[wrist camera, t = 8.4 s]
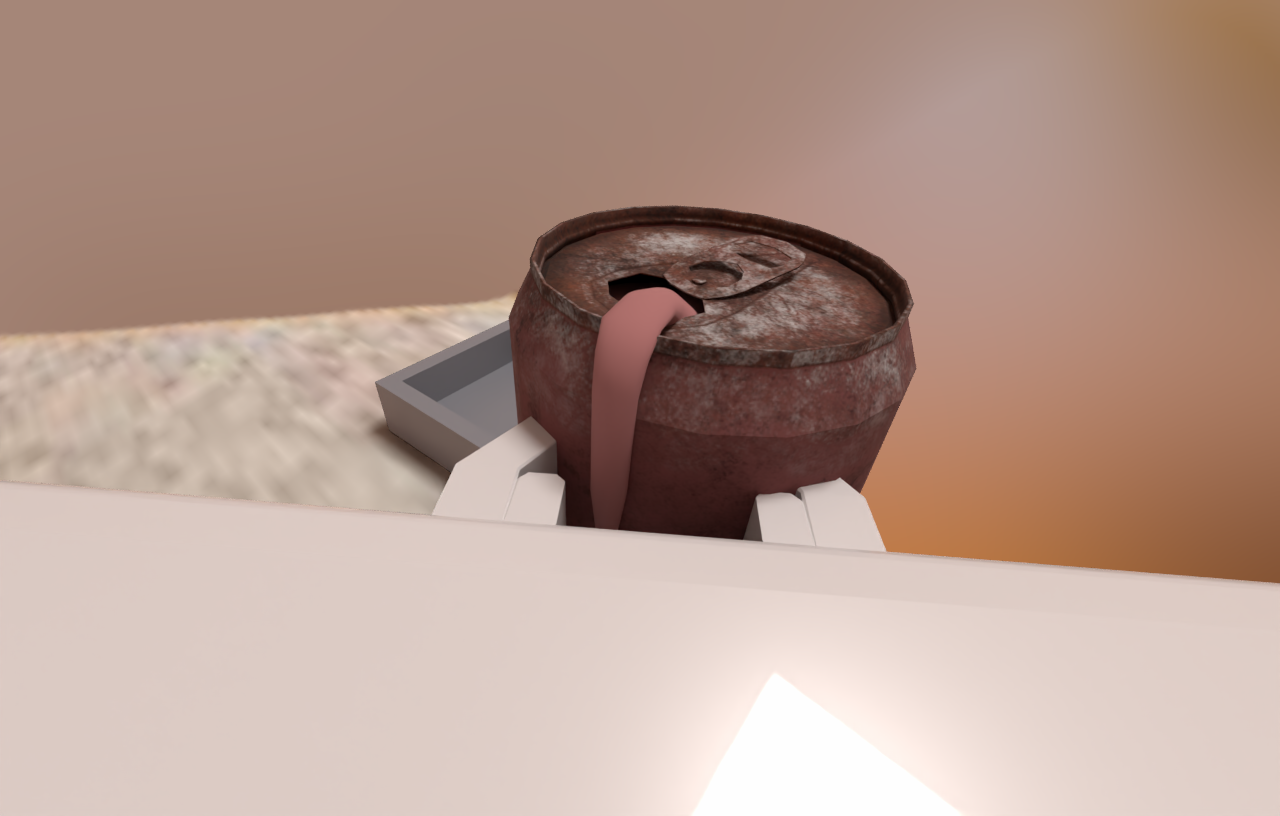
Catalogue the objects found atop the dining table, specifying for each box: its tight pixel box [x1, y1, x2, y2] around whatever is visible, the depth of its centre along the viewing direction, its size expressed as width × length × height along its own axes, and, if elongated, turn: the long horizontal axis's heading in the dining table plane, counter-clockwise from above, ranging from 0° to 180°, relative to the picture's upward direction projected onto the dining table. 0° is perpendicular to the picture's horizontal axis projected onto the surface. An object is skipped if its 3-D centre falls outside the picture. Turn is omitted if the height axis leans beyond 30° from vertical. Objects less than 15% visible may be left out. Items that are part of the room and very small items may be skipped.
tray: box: [375, 320, 518, 473], centre depth 29 cm, size 22×11×4 cm, turn 54°
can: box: [509, 206, 916, 540], centre depth 12 cm, size 6×6×14 cm
